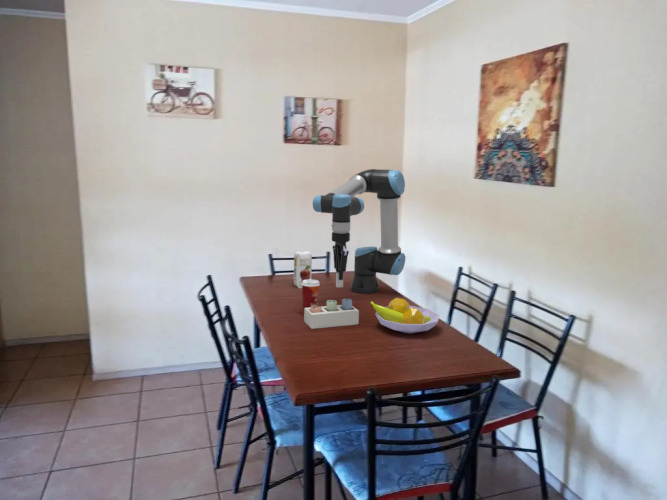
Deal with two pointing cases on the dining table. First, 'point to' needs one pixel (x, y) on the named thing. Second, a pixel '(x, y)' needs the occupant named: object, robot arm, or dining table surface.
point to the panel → (331, 317)
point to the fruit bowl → (405, 316)
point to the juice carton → (302, 267)
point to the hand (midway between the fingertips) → (339, 286)
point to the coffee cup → (310, 292)
